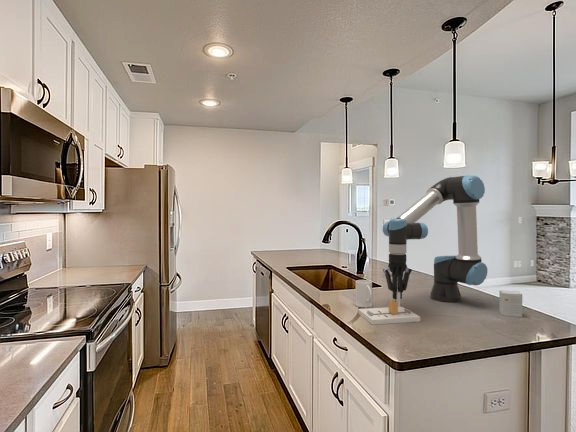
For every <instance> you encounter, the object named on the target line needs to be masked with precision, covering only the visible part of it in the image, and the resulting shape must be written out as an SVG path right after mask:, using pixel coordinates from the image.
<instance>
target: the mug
mask: <svg viewBox="0 0 576 432" xmlns="http://www.w3.org/2000/svg"><path fill="white" fill-rule="evenodd" d="M372 300H373V281H372V280H369V279H368V280H365V279H358V280H355V303H354V305H355V307H356V306H357V307H359V308H372V307H373V301H372Z"/></svg>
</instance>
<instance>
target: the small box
mask: <svg viewBox="0 0 576 432" xmlns="http://www.w3.org/2000/svg"><path fill="white" fill-rule="evenodd" d="M498 309H499V314H500V315H501V316H504V317H516V318H523V294H522V293H521V292H520V291H516V290H515V291H514V290H502V289H501V290H499V308H498Z"/></svg>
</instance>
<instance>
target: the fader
mask: <svg viewBox="0 0 576 432" xmlns="http://www.w3.org/2000/svg"><path fill="white" fill-rule="evenodd" d="M388 307H389V312H390V313H392V314H398V302H396V301H394V299H390V300H388Z"/></svg>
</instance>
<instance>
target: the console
mask: <svg viewBox="0 0 576 432" xmlns="http://www.w3.org/2000/svg"><path fill="white" fill-rule="evenodd" d="M357 314H358V315H359V316H361V317H362V318H363V319H364V320H366V321H367V322H368V323H370V324H371V325H385V324H387V325H388V324H401V323H402V324H403V323H416V322H417V323H418V322H421V316H419V314H416V313H414V312H412V311H411V310H410V309H408V308H405V307H404V306H400V307H398V314H392V313H390V312H389V306H388V307H387V306H386V307H374V308H372V307H368V308H357Z"/></svg>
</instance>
